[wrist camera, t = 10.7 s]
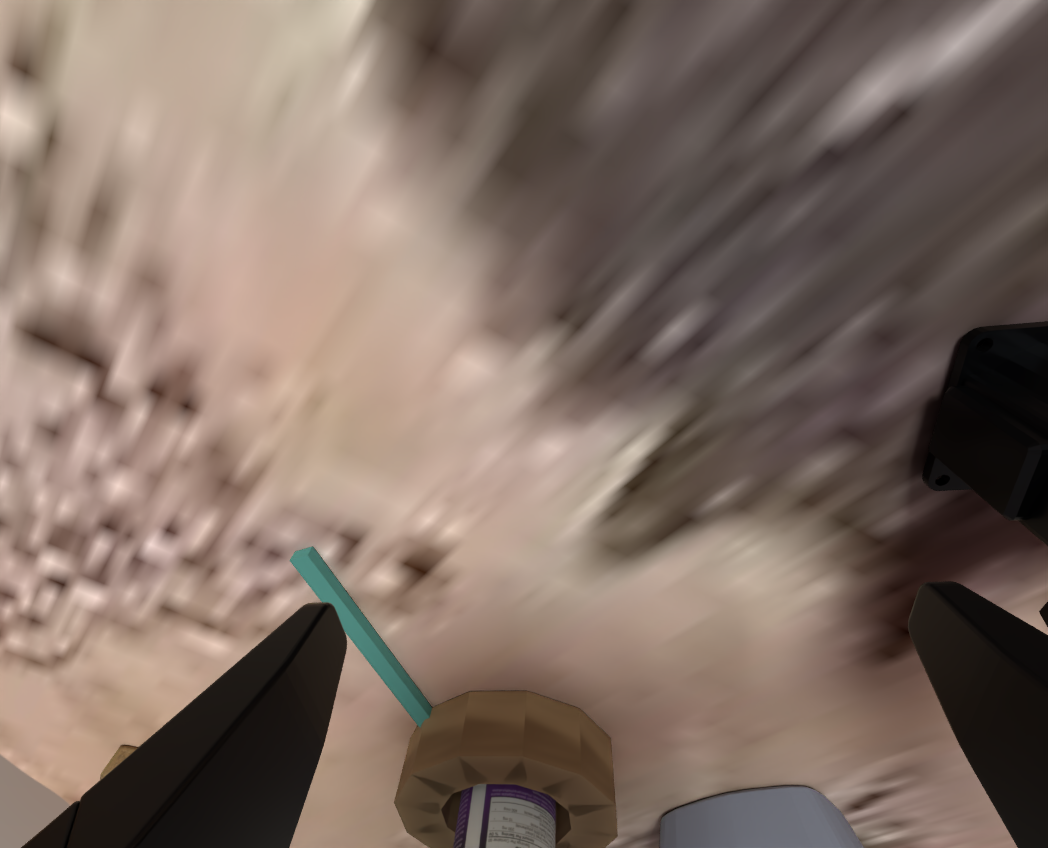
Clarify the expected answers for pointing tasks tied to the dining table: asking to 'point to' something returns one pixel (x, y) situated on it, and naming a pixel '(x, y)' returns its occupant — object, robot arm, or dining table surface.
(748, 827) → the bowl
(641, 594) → the dining table surface
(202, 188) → the dining table surface
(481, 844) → the pill bottle
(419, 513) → the dining table surface
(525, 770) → the brown faceted ring
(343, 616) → the teal stick
